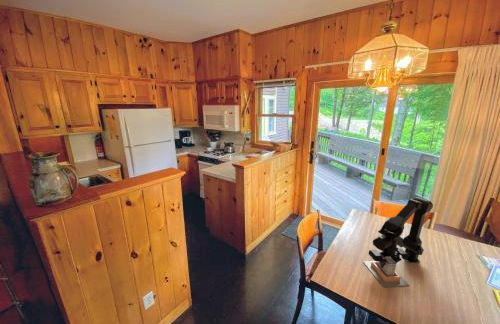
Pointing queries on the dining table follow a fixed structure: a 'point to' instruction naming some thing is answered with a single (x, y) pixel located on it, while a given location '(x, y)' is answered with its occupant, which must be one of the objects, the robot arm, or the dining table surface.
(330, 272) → the dining table surface
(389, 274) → the medicine box
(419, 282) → the dining table surface
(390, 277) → the end holder
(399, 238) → the cell phone
